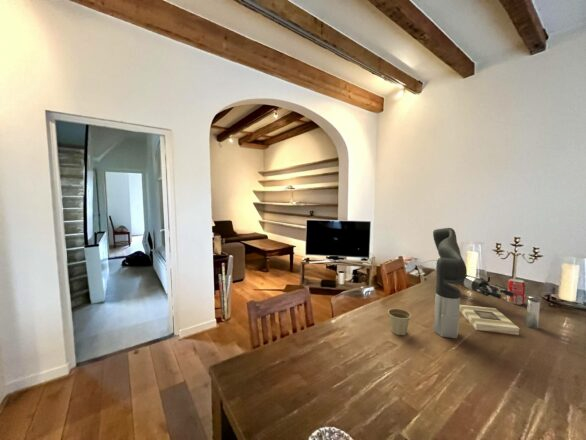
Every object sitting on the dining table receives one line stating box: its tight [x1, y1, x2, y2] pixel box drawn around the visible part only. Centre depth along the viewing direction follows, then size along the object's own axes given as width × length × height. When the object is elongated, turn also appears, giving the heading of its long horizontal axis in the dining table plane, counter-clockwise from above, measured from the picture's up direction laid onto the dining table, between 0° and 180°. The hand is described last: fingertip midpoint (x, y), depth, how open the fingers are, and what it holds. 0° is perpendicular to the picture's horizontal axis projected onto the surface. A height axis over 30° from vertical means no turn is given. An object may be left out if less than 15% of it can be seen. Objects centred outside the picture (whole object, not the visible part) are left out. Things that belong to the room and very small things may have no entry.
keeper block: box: [459, 304, 520, 336], centre depth 119 cm, size 20×16×3 cm
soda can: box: [506, 278, 526, 306], centre depth 140 cm, size 7×7×13 cm
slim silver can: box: [525, 294, 542, 330], centre depth 114 cm, size 5×5×14 cm
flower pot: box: [387, 308, 412, 336], centre depth 110 cm, size 9×9×9 cm
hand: (507, 295), depth 125 cm, fingers open, 8 cm apart
